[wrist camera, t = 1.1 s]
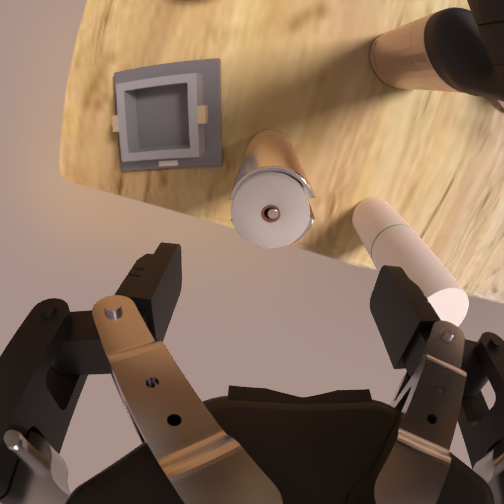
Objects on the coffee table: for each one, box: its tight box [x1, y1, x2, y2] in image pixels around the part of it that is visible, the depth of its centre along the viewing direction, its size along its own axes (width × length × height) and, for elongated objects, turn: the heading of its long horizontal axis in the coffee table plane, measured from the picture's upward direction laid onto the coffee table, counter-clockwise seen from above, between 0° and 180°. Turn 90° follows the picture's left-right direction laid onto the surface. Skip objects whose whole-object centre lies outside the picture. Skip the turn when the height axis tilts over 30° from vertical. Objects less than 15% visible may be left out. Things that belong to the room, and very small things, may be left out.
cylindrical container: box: [352, 197, 469, 327], centre depth 36 cm, size 7×7×25 cm
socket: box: [112, 59, 223, 171], centre depth 39 cm, size 16×16×6 cm
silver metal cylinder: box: [229, 130, 316, 249], centre depth 32 cm, size 6×6×25 cm
